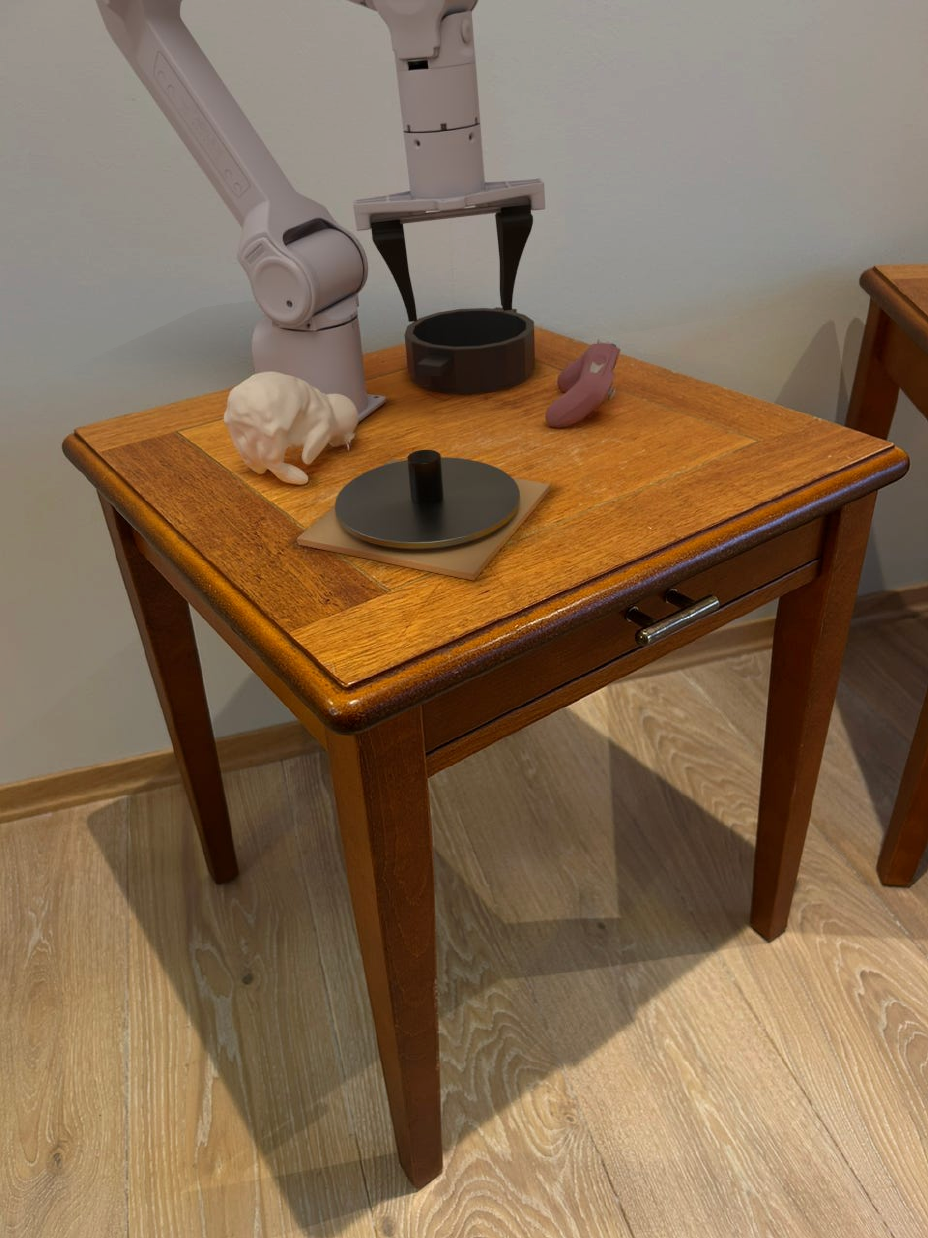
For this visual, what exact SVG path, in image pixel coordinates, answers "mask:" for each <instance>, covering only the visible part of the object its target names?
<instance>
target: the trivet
mask: <svg viewBox="0 0 928 1238" xmlns="http://www.w3.org/2000/svg"><path fill="white" fill-rule="evenodd" d="M399 461H403V460H401V459H397V458H396V459H394V458H390V459H389V460H388V461H386V463H384V464H383V465H382V466H384V465H387V464H391V463H395V462H399ZM512 478H513V479H514V481H515V482H516V483H517V485H518V488H519V491H520V504H519V507H518V509H517V512H516V513H515V514H514V516H513V517H512V518H511V519H510V520H509V521H508V522H507V523H506V524H504V525H503V526H502V527H500V528H499V529H497V530H495V531H493V532H492V533H489V534H487V535H485V536H483V537H480V538H477V539H474V540H471V541H468V542H464V543H460V544H456V545H451V546H445V547H437V548H424V549H406V548H394V547H388V546H382V545H378V544H374V543H370V542H367V541H364V540H362V539H360V538H357V537H355V536H353V535H352V534H350V533H349V532H347V531H346V530H345V529H344V528H343V527H342V526H341V525H340V523H339V522H338V520H337V517H336V513H335V505H334V506H333V507H332V508H331V509H329V510H328V511H327V512H326V513H325V514H323V515H322V516H321V517H319V519H318V520H316V521H315V522H314V523H313V524H311V525H310V526H309V527H308V528H306V529H305V530H304V531H303V532H302V533H300V535H298V536H297V537H296V540H297V545H298V546H301V547H307V548H312V549H318V550H322V551H327V552H333V553H337V554H341V555H347V556H350V557H351V556H352V557H356V558H360V559H366V560H370V561H375V562H381V563H386V564H390V565H394V566H395V565H396V566H400V567H405V568H410V569H415V570H420V571H423V572H424V571H425V572H430V573H435V574H439V575H444V576H448V577H453V578H454V577H455V578H459V579H463V580H467V581H468V580H469V581H473V582H474V581H475V580H476V579H477V578H478V577H479V575H480V574H481V573H482V572H483V571H484V569H486V568H487V566H488V565H489V564H490V563H491V561H492V560H493V559H494V558H495V557H496V556H497V554H498V553H499V552H500V551H501V550H502V548H504V546H505V544H506V543H507V542H508V541H509V540H510V539H511V538H512V536H513V535H514V534H515V533H516V532H517V531H518V530H519V528H520V527H521V526H522V525H523V523H525V521H526V520H527V519H528V518H529V517H530V515H531V514H532V513H533V512H534V510H535V509H537V507H538V506H539V505H540V504H541V502H542V501H543V500H544V499H545V498H546V497H547V496H548V494H549V493H550V492H551V483H547V482H541V481H535V480H527V479H522V478H517V477H516V478H515V477H512Z"/></svg>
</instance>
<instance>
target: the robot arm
mask: <svg viewBox="0 0 928 1238" xmlns="http://www.w3.org/2000/svg"><path fill="white" fill-rule="evenodd" d="M346 1H347V2H350V3H352V4H356V5H358V6H361V7H364V8H366V9H369V10H372V11H374V12H377V13H378V15H379V16H380V19H382V20H383V22H384V23H385V24H386V26H387V29H388V30H389V34H390V40H391V41H390V42H391V49H392V52H393V53H394V61H395V68H396V69H395V71H396V79H397V88H398V96H399V104H400V113H401V122H402V123H401V124H402V130H403V138H404V139H403V140H404V148H405V158H406V166H407V175H408V185H409V190H407V191H402V192H395V193H391V194H384V195H378V196H373V197H365V198H359V199H353V202H352V203H353V205H352V206H353V213H354V220H355V227H356V231H357V232H361V231H369V230H371V239H372V242H373V244H374V246H375V248H376V249H377V251H378V253H379V254H380V256H381V258H382V259H383V261H384V263H385V265H386V266H387V268H388V269H389V271H390V274H391V275H392V277H393V280H394V281H395V284H396V286H397V289H398V290H399V293H400V296H401V299H402V302H403V303H404V307H405V312H406V315H407V319H408V322H409V323H413V322H414V321H417V319H418V315H417V308H416V307H417V306H416V300H415V295H414V289H413V286H412V281H411V276H410V269H409V262H408V254H407V246H406V237H405V229H404V224H405V225H406V224H413V223H423V222H430V221H431V222H432V221H438V220H447V219H455V218H465V217H473V216H481V215H489V214H490V215H491V214H494V218H495V228H496V237H497V248H498V258H499V298H500V299H499V300H500V307H501V308H503V310H504V311H507V310H512V309H513V299H514V298H513V297H514V289H515V284H516V278H517V274H518V270H519V266H520V262H521V259H522V256H523V252H524V250H525V247H526V244H527V242H528V239H529V238H530V237H529V236H530V235H531V232H532V228H533V224H534V216H533V214H532V211H539V210H545V209H546V195H545V182H544V181H543V180H542V179H541V178H540V177H539V178H533V179H531V178H530V179H519V180H501V181H486V179H485V165H484V153H483V142H482V141H483V140H482V126H481V125H482V124H481V111H480V99H479V86H478V84H479V83H478V74H477V73H478V72H477V61H476V60H477V59H476V49H475V38H474V37H475V36H474V25H473V11H474V10H475V8H476V7H477V5H478V3H479V0H346ZM182 2H183V0H95V4H96V5H97V8H98V10H99V13H100V16H101V18H102V22H103V25H104V26H105V28H106V31H107V33H108V34H109V36H110V38H111V39H112V41H113V43H114V44H115V46H116V47H117V48H118V50H119V51H120V53H121V54H122V56H123V57H124V58H125V60H126V61H127V63H128V64H129V66H130V67H131V69H132V70H133V72H134V73H135V75H136V77H137V78H138V79H139V80H140V82H141V84H142V85H143V86H144V88H145V89H146V90H147V92H148V94H149V95H150V96H151V98H152V99H153V101H154V102H155V104H156V105H157V107H158V108H159V110H160V111H161V112H162V114H163V115H164V116H165V119H166V120H167V121H168V122H169V124H170V126H171V127H172V128H173V130H174V132H175V133H176V134H177V136H178V138H180V140H181V141H182V143H183V145H184V146H185V148H186V149H187V150H188V152H189V153H190V154H191V156H192V157H193V159H194V160H195V162H196V163H197V165H198V167H199V168H200V169H201V171H202V172H203V173H204V175H205V176H206V178H207V179H208V181H209V182H210V183H211V185H212V187H213V188H214V189H215V191H216V192H217V194H218V195H219V197H220V198H221V200H222V201H223V203H224V204H225V205H226V207H227V209H228V210H229V212H230V213H231V214H232V216H233V217H234V219H235V220H236V221H237V223H238V224H239V226H240V227H241V229H242V232H241V235H240V240H239V244H238V248H237V253H236V260H237V261H238V263H239V264H240V266H241V267H242V269H243V270H244V272H245V274H246V276H247V278H248V280H249V283H250V287H251V291H252V295H253V297H254V300H255V302H256V304H257V305H258V308H259V309H260V310H261V312H262V313H263V314H264V315H263V316H262V317H261V318H260V319H259V320H258V321H257V323H256V325H255V327H254V329H253V331H252V332H253V333H252V338H251V354H252V355H251V356H252V361H253V368H254V372H255V373H254V374H258V373H262V372H278V373H282V374H285V375H290V376H293V377H296V378H299V379H301V380H303V381H305V382H307V383H308V384H309V385H310V386H312V387H314V388H316V389H318V390H319V391H320V392H321V393H324V394H341V395H344V396H346V397H348V398H349V399H350V400H351V401H352V402H353V404H354V405H355V407H356V409H357V412H358V423H360V422H361V421H362V420H364V419H365V418H367V417H368V416H369V415H371V414H372V413H374V412H375V411H377V409H379V408H380V407H381V406H383V405H384V404H386V402H387V397H386V396H384V395H379V394H378V395H377V394H370V393H368V390H367V382H366V381H367V380H366V372H365V364H364V355H363V347H362V346H363V345H362V338H361V337H362V336H361V329H360V321H359V320H360V319H359V314H358V308H359V306H360V302H359V301H360V299H359V293H360V292H361V291H362V290H363V288H364V287H365V285H366V283H367V280H368V276H369V262H368V257H367V254H366V250H365V248H364V246H363V245H362V243H361V241H360V240H359V239H358V238H357V237H356V235H355V234H354V233H352V232H351V231H349V230H348V229H347V228H345V227H344V226H342V225H341V224H340V223H339V222H337V221H336V220H335V218H334V217H333V215H332V214H331V213H330V212H329V210H328V208H327V207H326V206H325V205H323V204H321V203H319V202H318V201H316V200H314V199H312V198H309V197H307V196H305V195H304V194H302V193H300V192H298V191H297V190H296V189H295V188H294V186H293V185H292V183H291V182H290V180H289V179H288V177H287V176H286V174H285V173H284V171H283V170H282V168H281V167H280V165H279V163H278V162H277V161H276V158H274V156H273V155H272V153H271V152H270V151H269V148H268V147H267V145H266V144H265V143H264V141H263V140H262V138H261V136H260V135H259V134H258V132H257V130H256V129H255V128H254V126H253V124H252V123H251V122H250V120H249V119H248V117H247V116H246V114H245V113H244V111H243V109H242V108H241V107H240V105H239V104H238V102H237V101H236V99H235V97H234V96H233V95H232V92H231V91H230V90H229V89H228V87H227V85H226V84H225V82H224V81H223V79H222V78H221V76H220V75H219V73H218V71H217V70H216V69H215V67H214V66H213V64H212V63H211V60H209V59H208V56H207V55H206V54H205V52H204V50H202V48H201V46H200V45H199V43H198V42H197V40H196V39H195V37H194V35H193V34H192V33H191V31H190V30H189V29H188V27H187V25H186V23H185V22H184V21H183V19H182V17H181V4H182Z"/></svg>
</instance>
